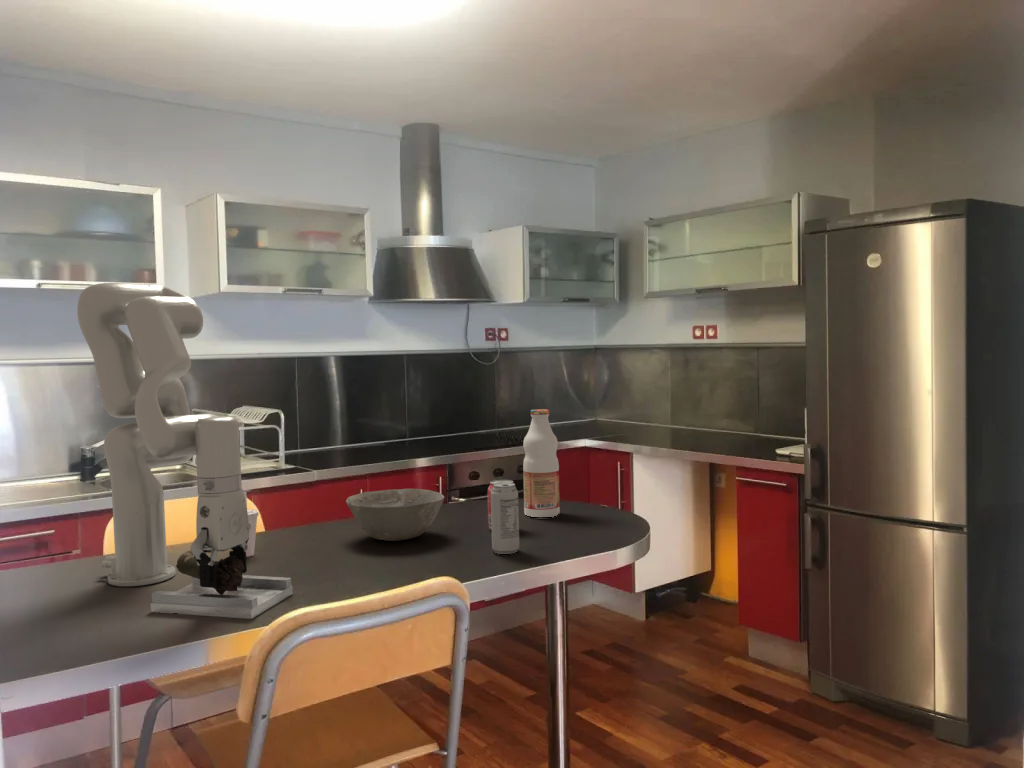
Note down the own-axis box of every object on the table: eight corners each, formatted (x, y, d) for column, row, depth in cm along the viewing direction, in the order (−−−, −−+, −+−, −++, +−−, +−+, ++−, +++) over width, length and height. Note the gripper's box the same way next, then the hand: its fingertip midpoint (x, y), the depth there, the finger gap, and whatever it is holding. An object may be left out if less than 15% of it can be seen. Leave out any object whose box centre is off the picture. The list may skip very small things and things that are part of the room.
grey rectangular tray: (151, 611, 147) (150, 594, 146) (199, 588, 160) (198, 572, 160) (251, 618, 142) (250, 600, 142) (292, 593, 155) (291, 577, 155)
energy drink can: (511, 547, 186) (510, 481, 185) (524, 553, 181) (522, 485, 180) (487, 550, 184) (485, 483, 183) (499, 557, 178) (498, 488, 177)
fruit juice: (516, 515, 219) (514, 410, 217) (540, 510, 226) (538, 407, 224) (543, 520, 212) (541, 412, 211) (567, 514, 219) (565, 409, 218)
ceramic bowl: (452, 545, 189) (450, 502, 188) (349, 554, 184) (348, 509, 183) (437, 524, 211) (436, 485, 210) (345, 531, 205) (344, 491, 205)
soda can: (522, 528, 204) (521, 480, 203) (506, 534, 198) (505, 485, 198) (498, 525, 208) (497, 478, 207) (482, 531, 202) (481, 482, 201)
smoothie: (265, 554, 185) (263, 492, 184) (239, 560, 180) (236, 496, 179) (251, 549, 189) (248, 489, 188) (224, 555, 184) (222, 493, 184)
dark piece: (175, 575, 156) (175, 546, 156) (209, 568, 161) (209, 540, 161) (222, 600, 144) (222, 568, 144) (256, 591, 149) (257, 561, 149)
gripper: (209, 494, 140) (214, 595, 141) (264, 477, 157) (268, 567, 158) (170, 493, 142) (175, 593, 143) (229, 476, 159) (233, 565, 160)
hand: (224, 579), depth 151 cm, fingers closed on dark piece, 8 cm apart
